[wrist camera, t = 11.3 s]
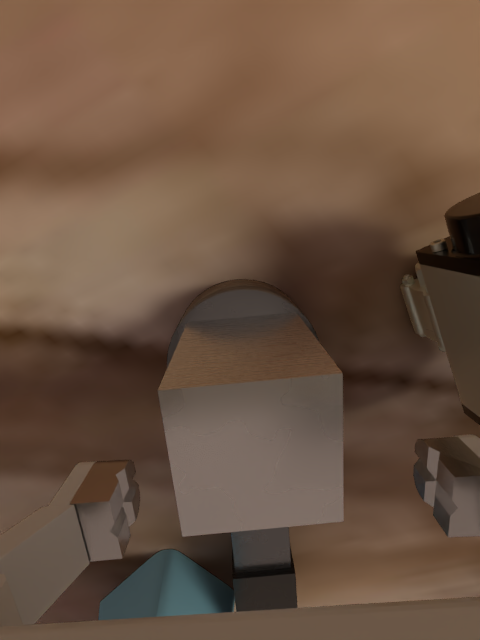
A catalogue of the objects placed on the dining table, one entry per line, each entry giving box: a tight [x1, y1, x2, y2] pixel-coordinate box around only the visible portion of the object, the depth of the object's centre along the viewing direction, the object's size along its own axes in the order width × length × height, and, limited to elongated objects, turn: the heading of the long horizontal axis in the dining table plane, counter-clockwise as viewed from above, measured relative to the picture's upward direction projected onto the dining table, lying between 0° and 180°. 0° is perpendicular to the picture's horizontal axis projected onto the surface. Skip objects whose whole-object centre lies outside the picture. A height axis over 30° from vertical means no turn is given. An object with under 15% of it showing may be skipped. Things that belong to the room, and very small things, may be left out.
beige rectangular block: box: [158, 312, 344, 537], centre depth 14 cm, size 5×5×7 cm
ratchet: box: [167, 279, 319, 612], centre depth 19 cm, size 8×24×8 cm, turn 5°
